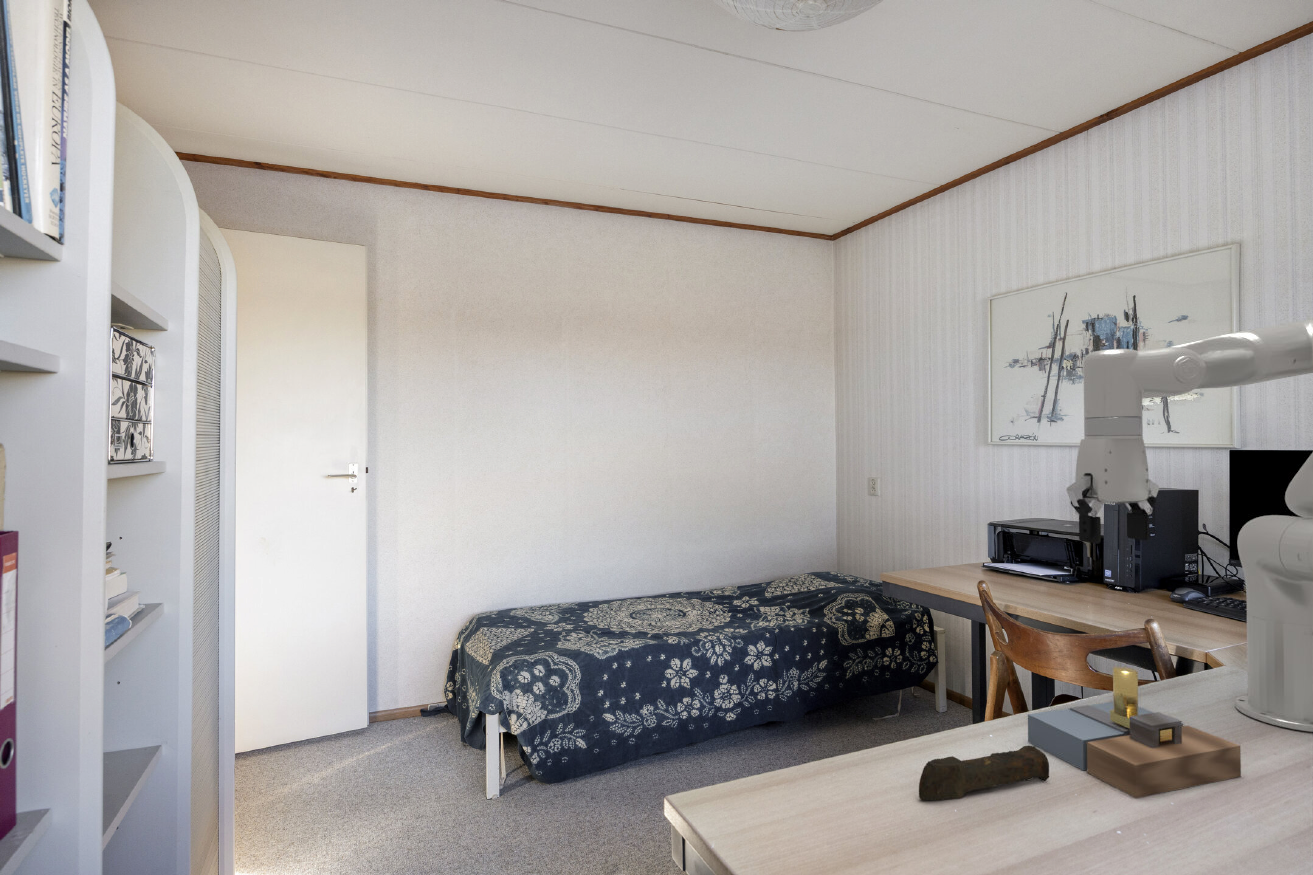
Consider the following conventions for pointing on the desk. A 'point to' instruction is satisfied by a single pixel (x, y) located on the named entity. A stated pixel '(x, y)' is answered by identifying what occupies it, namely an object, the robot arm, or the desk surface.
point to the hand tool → (980, 773)
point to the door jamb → (1162, 757)
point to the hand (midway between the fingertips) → (1114, 540)
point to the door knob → (1128, 699)
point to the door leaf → (1074, 730)
